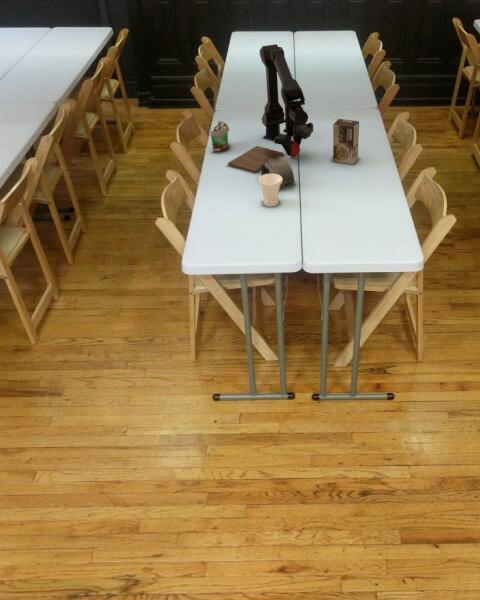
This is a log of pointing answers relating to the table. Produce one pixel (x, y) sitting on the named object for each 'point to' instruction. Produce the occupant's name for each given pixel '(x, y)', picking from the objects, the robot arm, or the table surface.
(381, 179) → the table surface
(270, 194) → the cup
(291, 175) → the rock
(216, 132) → the food container
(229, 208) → the table surface
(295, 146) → the red fruit
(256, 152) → the cutting board
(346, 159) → the coffee box
